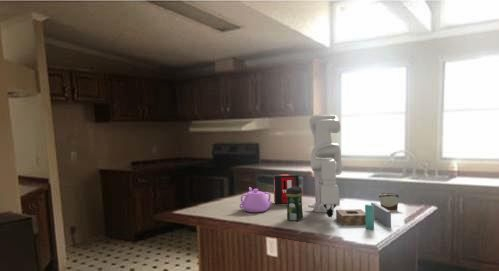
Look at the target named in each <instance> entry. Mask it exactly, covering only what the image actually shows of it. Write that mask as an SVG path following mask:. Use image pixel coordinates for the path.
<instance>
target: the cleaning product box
mask: <svg viewBox="0 0 499 271" xmlns="http://www.w3.org/2000/svg"><path fill="white" fill-rule="evenodd" d="M299 177H300V176H299V174H298V173H287V174H285V173H283V174H273V199H274V201H273V202H275V203H274V205H275V204H287V195H286V190H287V189H288V188H291V187H293V186H297V187H300V184H299V182H300V180H299Z"/></svg>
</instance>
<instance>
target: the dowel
mask: <svg viewBox="0 0 499 271" xmlns="http://www.w3.org/2000/svg"><path fill="white" fill-rule="evenodd" d="M364 212H365V222H366V225H365V229H366V230H368V231H372V230H375V218H374V205H371V203H369V204H365V205H364Z"/></svg>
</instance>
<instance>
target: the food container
mask: <svg viewBox="0 0 499 271" xmlns="http://www.w3.org/2000/svg"><path fill="white" fill-rule="evenodd" d="M378 198H379V202H380V204H379V205H380V206H382V207H383V208H385V209H387V210H389V211H398V205H399V198H400V195H399V193H395V192H380V193H379V194H378Z"/></svg>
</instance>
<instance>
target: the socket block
mask: <svg viewBox="0 0 499 271" xmlns="http://www.w3.org/2000/svg"><path fill="white" fill-rule="evenodd" d="M335 213H336V214H335V217H336V218H335V219H336V220H337V221H338V222H339V224H340V225H342V226H366V222H365V210H363V209H360V208H359V209H355V208H354V209H335Z"/></svg>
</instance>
